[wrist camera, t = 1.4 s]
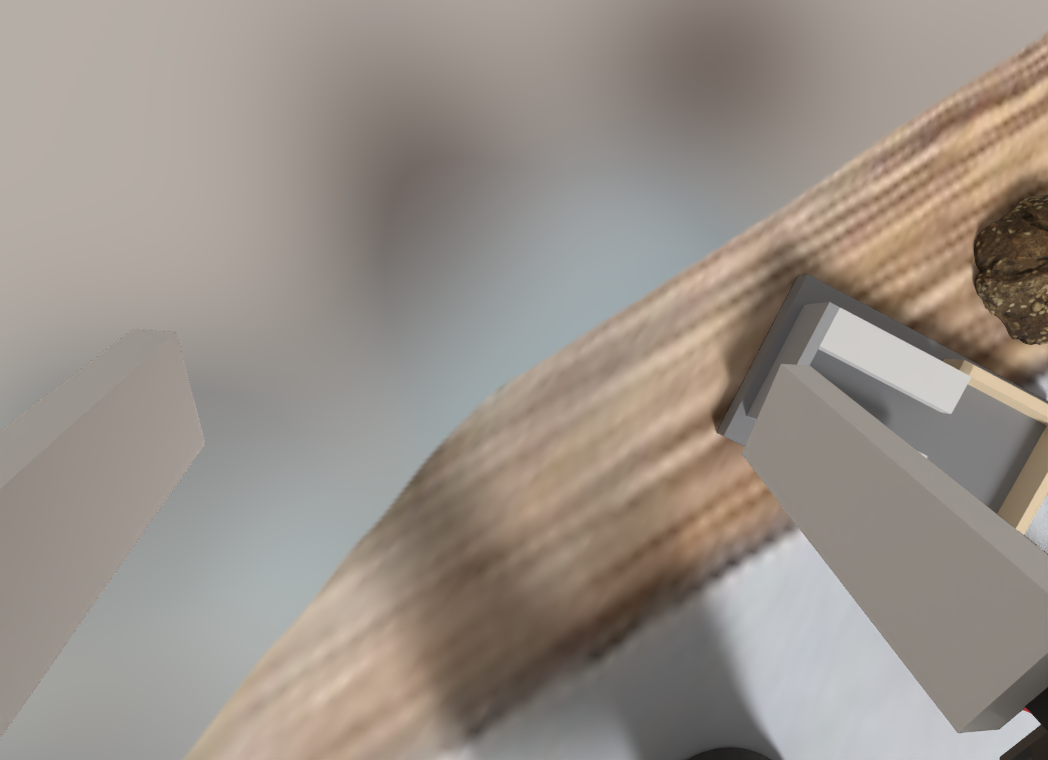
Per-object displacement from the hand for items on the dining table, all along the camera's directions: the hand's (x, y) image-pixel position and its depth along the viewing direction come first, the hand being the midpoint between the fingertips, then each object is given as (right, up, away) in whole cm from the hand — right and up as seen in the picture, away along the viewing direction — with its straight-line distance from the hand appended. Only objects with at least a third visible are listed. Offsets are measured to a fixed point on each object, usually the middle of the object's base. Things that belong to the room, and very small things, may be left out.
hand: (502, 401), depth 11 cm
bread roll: (+48, +11, +35) cm, 61 cm away
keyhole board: (+35, -4, +35) cm, 50 cm away
